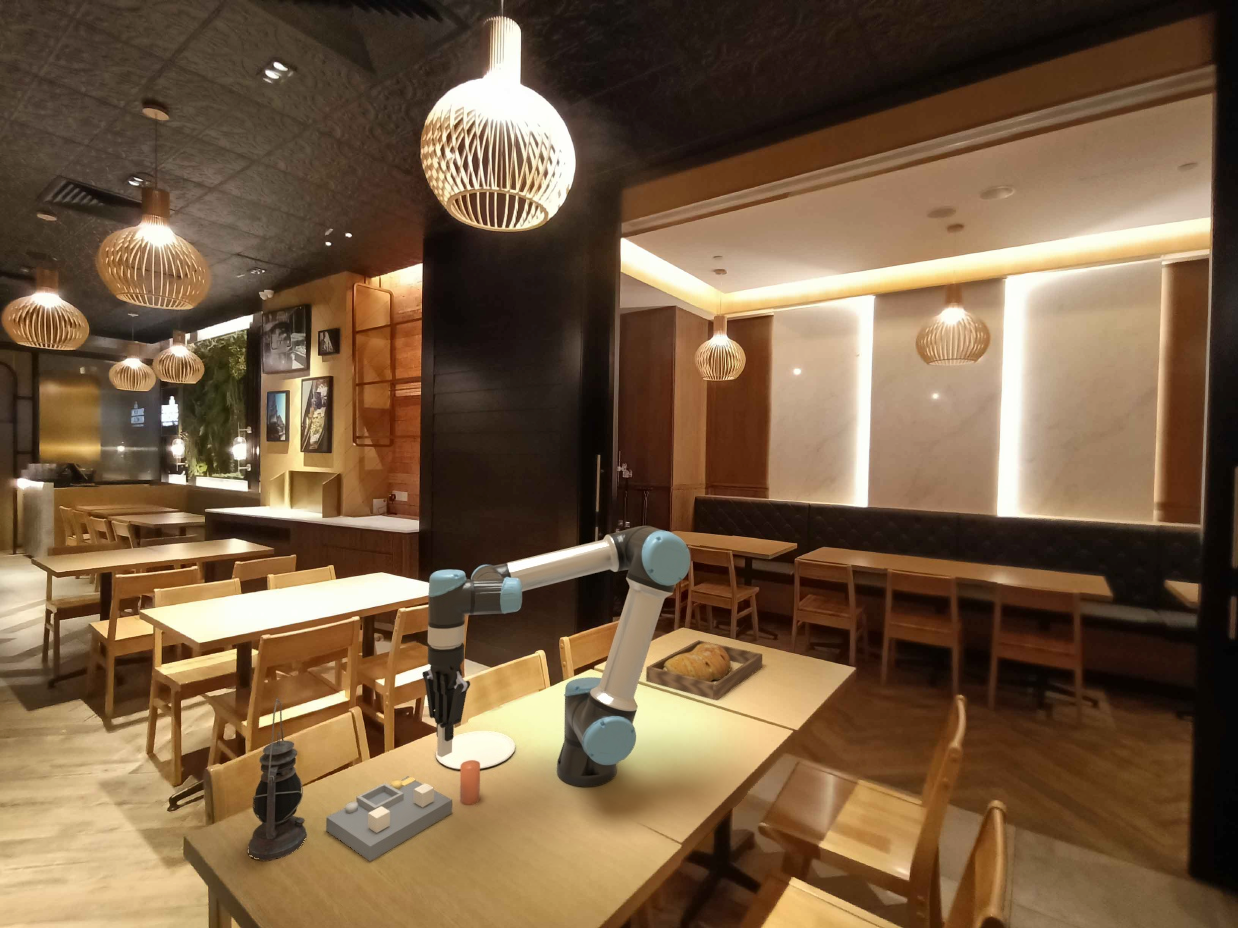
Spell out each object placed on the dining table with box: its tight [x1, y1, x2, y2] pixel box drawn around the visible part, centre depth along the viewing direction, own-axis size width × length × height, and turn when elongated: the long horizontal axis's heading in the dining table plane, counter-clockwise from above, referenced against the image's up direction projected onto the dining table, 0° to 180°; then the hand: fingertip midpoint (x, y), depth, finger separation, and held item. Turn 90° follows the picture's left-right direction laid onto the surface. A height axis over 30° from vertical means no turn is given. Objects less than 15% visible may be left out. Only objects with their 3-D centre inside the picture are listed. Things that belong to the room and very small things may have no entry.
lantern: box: [247, 697, 308, 861], centre depth 123 cm, size 12×11×30 cm
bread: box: [663, 642, 731, 682], centre depth 224 cm, size 32×20×10 cm, turn 140°
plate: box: [435, 730, 516, 771], centre depth 162 cm, size 21×21×1 cm
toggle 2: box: [414, 783, 435, 807], centre depth 133 cm, size 3×3×3 cm
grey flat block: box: [325, 776, 453, 862], centre depth 131 cm, size 16×20×4 cm
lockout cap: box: [459, 760, 481, 805], centre depth 140 cm, size 4×4×8 cm
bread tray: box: [645, 639, 763, 701], centre depth 223 cm, size 27×39×5 cm
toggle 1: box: [368, 806, 390, 833], centre depth 124 cm, size 3×3×3 cm
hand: (444, 753), depth 129 cm, fingers closed
